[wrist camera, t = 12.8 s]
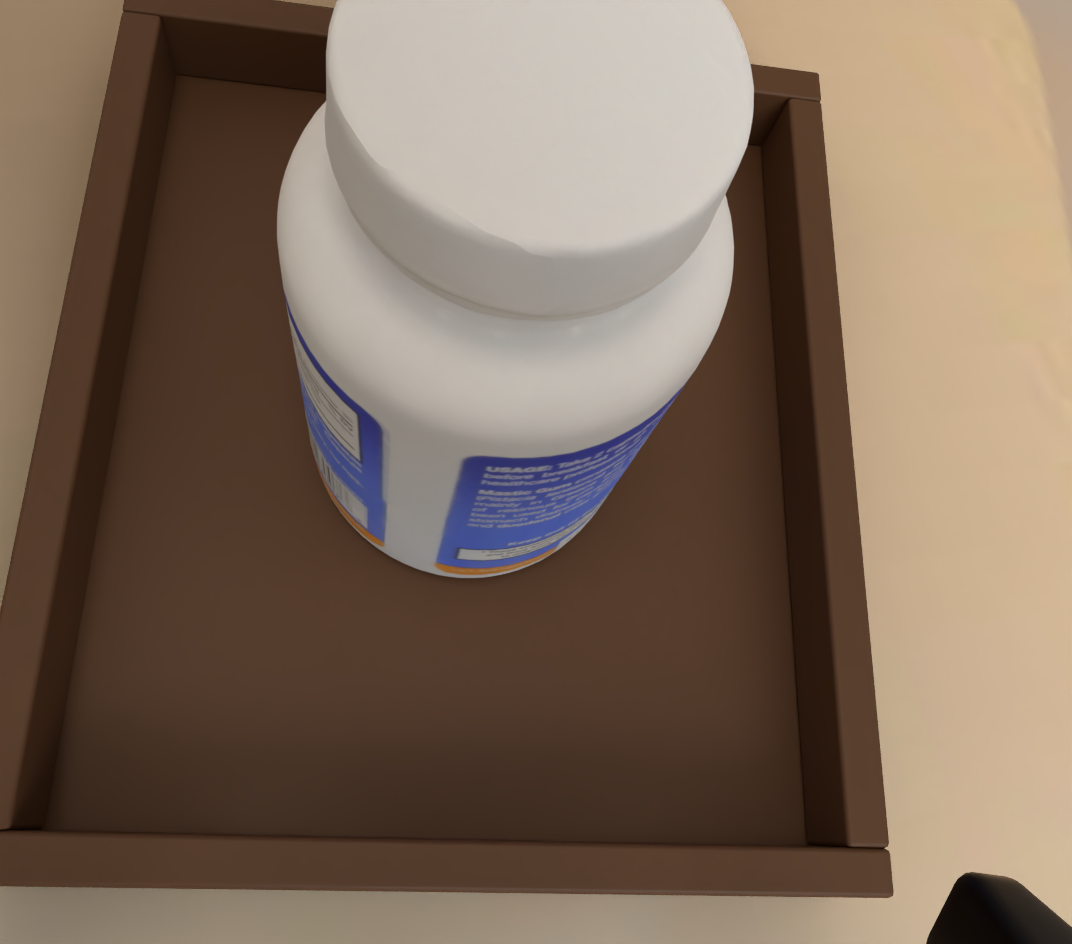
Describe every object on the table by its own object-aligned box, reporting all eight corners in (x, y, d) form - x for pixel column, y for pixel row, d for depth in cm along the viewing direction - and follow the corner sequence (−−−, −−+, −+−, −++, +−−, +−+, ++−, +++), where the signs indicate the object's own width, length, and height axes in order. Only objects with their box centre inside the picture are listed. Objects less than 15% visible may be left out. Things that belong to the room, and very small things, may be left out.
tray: (835, 890, 17) (895, 898, 15) (-3, 877, 15) (-58, 885, 13) (780, 138, 22) (819, 71, 20) (150, 60, 20) (127, -21, 18)
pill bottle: (644, 367, 19) (892, -44, 10) (557, 631, 17) (766, 413, 8) (378, 266, 19) (386, -247, 10) (258, 520, 17) (134, 172, 8)
